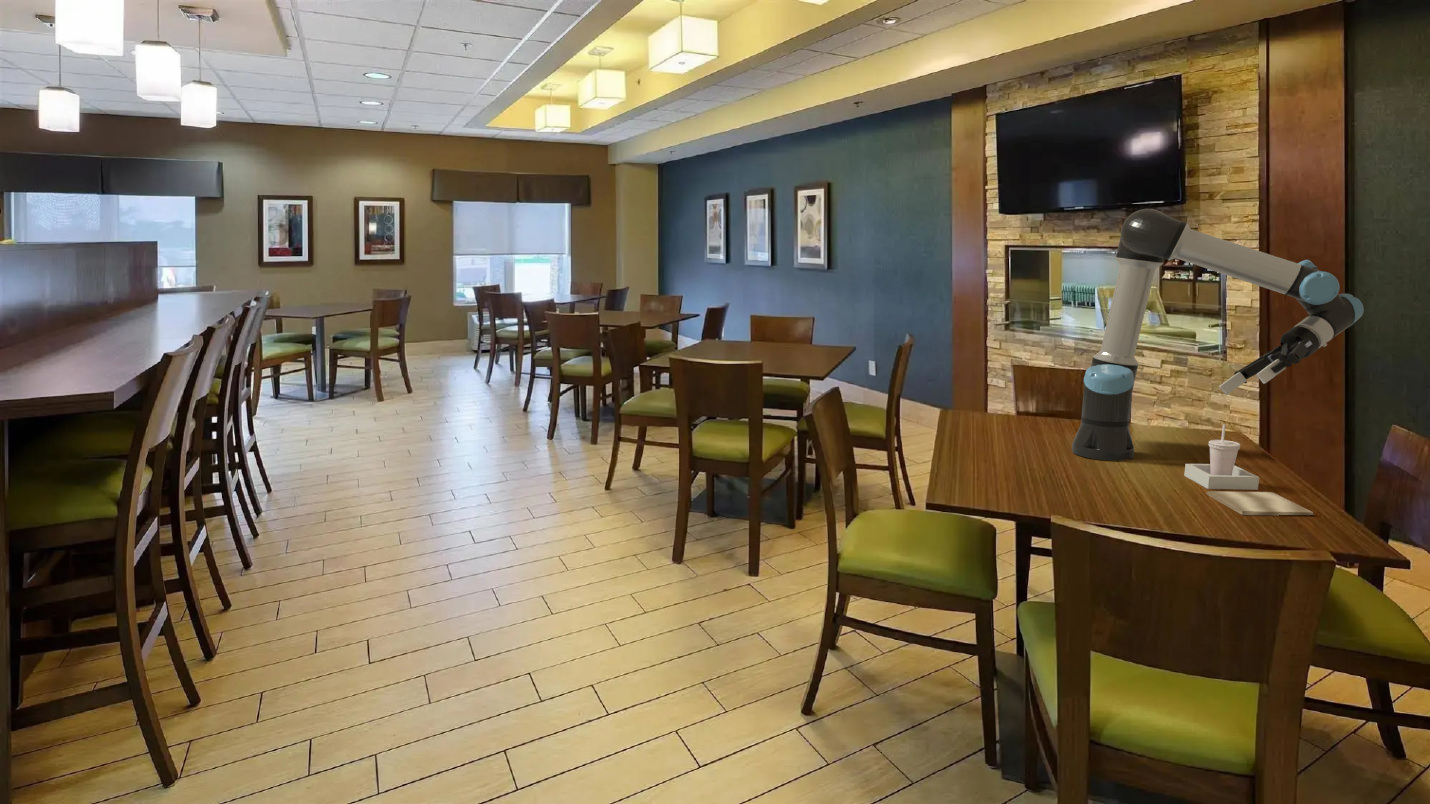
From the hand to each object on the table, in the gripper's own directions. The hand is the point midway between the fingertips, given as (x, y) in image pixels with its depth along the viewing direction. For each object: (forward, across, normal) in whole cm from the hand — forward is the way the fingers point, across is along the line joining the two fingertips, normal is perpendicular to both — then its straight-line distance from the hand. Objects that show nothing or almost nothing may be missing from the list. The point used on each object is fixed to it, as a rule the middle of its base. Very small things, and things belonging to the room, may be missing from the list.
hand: (1241, 385), depth 197 cm
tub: (+20, 0, -15) cm, 25 cm away
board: (+26, -16, -19) cm, 36 cm away
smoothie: (+20, 0, -15) cm, 25 cm away
